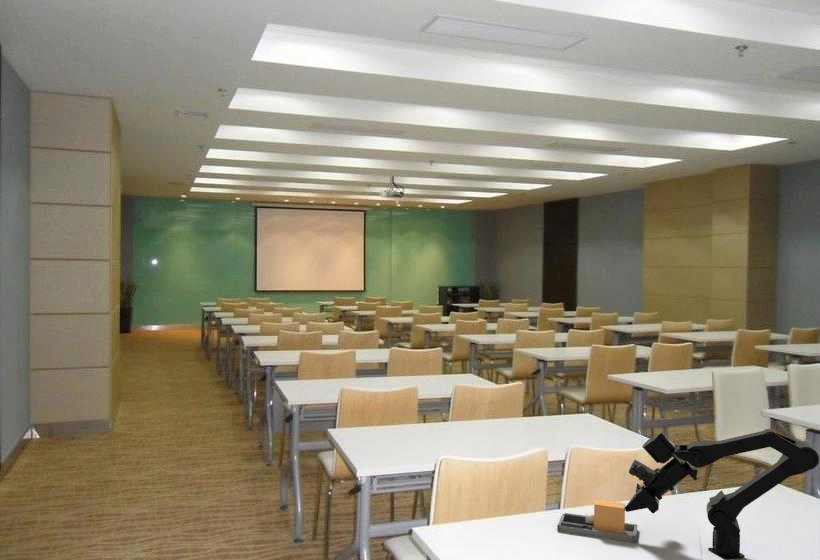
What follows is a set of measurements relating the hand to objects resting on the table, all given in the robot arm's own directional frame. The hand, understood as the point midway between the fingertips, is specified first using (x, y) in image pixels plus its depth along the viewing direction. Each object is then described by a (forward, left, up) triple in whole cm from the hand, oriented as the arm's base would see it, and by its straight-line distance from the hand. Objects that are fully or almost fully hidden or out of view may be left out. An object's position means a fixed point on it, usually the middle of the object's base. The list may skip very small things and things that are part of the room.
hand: (625, 510), depth 185 cm
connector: (+3, +4, -7) cm, 8 cm away
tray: (+4, +6, -8) cm, 11 cm away
